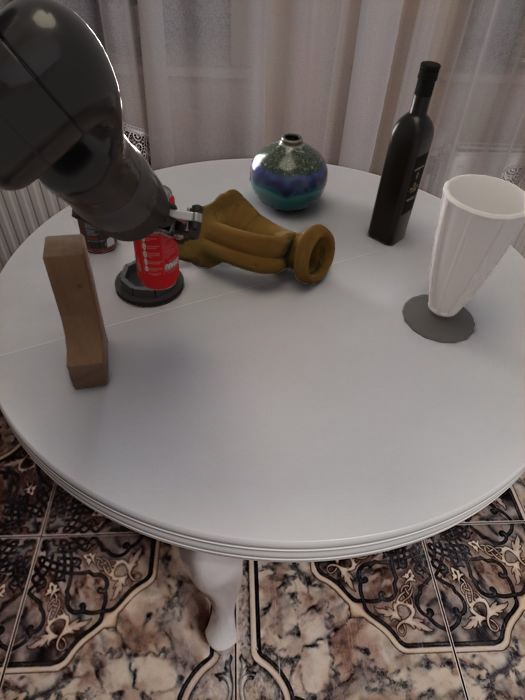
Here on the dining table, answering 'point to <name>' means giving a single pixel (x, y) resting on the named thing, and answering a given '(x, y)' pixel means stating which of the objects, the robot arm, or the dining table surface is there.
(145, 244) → the beverage can
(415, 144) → the wine bottle
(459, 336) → the cup
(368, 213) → the dining table surface
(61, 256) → the wooden block
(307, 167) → the vase
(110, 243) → the supplement bottle
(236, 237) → the brown looped sculpture
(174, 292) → the socket pad
